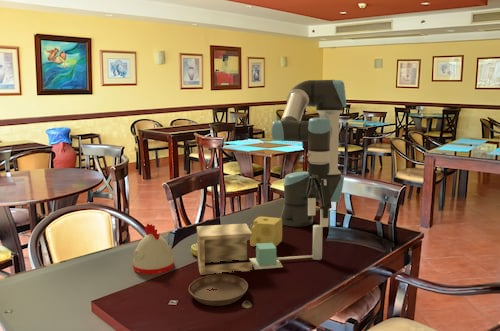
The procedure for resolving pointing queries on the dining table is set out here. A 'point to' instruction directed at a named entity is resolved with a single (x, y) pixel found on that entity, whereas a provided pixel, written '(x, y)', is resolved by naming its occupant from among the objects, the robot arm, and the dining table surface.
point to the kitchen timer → (152, 253)
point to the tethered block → (268, 257)
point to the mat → (256, 266)
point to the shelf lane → (222, 247)
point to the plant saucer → (218, 289)
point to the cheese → (266, 231)
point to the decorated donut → (194, 249)
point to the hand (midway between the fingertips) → (317, 220)
